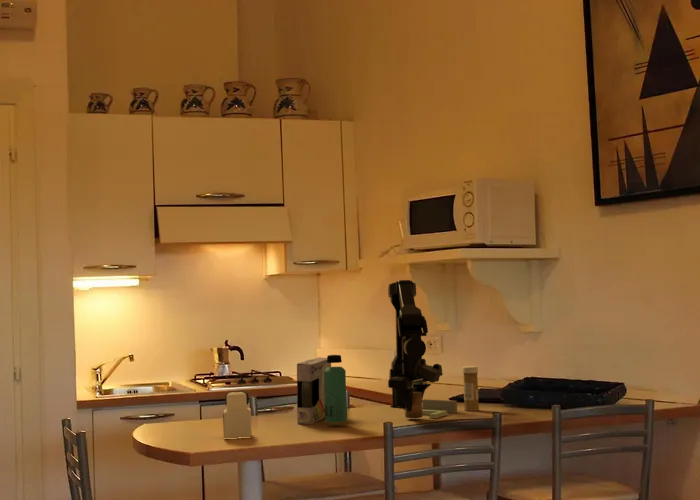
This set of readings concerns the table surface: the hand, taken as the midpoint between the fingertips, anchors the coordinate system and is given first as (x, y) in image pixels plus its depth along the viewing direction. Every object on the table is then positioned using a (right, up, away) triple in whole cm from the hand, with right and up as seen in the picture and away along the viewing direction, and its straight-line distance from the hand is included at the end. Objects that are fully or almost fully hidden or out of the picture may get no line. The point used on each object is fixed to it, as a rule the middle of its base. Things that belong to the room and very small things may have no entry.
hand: (413, 409), depth 279 cm
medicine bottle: (-48, -4, -23) cm, 54 cm away
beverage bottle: (-22, -3, -9) cm, 24 cm away
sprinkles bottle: (+19, -3, +16) cm, 25 cm away
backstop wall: (+9, -3, +14) cm, 17 cm away
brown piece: (0, -2, 0) cm, 2 cm away
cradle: (+4, -3, +6) cm, 8 cm away
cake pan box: (-29, -4, +5) cm, 30 cm away
